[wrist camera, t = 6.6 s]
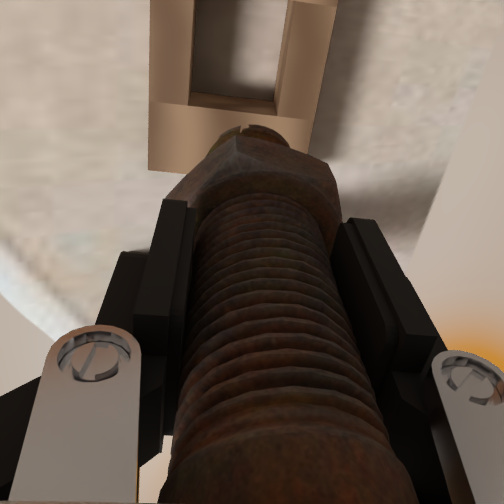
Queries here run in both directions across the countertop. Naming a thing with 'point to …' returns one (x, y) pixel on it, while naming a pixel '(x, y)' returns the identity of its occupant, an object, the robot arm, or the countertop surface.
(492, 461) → the robot arm
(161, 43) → the wooden block with hole
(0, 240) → the countertop surface
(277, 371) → the bolt
